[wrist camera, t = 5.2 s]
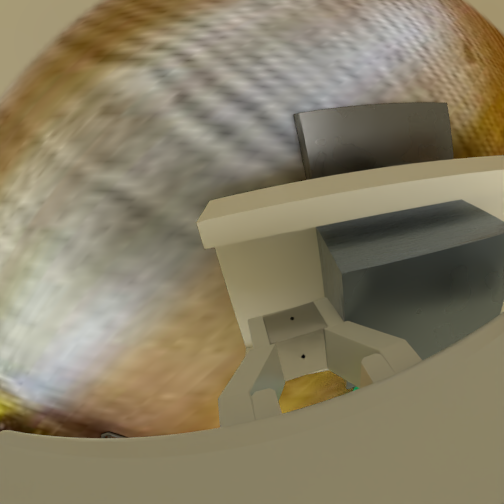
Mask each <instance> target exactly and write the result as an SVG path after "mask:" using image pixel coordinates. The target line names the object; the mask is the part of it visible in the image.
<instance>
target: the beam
mask: <svg viewBox="0 0 504 504" xmlns="http://www.w3.org/2000/svg"><path fill="white" fill-rule="evenodd" d="M460 199H462V200H464V201H466V202H468V203H470V204H472V205H474V206H476V207H478V208H480V209H482V210H484V211H485V212H487V213H489V214H491V215H493V216H495V217H497V218H498V219H500V220H502V221H504V155H501V156H486V157H472V158H461V159H450V160H440V161H431V162H422V163H414V164H406V165H398V166H390V167H383V168H376V169H369V170H363V171H356V172H350V173H344V174H338V175H332V176H326V177H321V178H315V179H310V180H304V181H299V182H294V183H289V184H283V185H278V186H274V187H269V188H264V189H259V190H254V191H250V192H245V193H241V194H236V195H232V196H227V197H223V198H219V199H214V200H210V201H209V203H208V204H207V206H206V207H205V209H204V211H203V212H202V214H201V215H200V217H199V219H198V220H197V222H196V224H197V227H198V230H199V234H200V237H201V240H202V243H203V247H204V249H209V248H213V247H215V250H216V254H217V257H218V260H219V264H220V267H221V270H222V274H223V277H224V280H225V283H226V287H227V290H228V293H229V296H230V299H231V303H232V306H233V309H234V312H235V315H236V318H237V321H238V325H239V328H240V331H241V334H242V337H243V340H244V343H245V346H246V355H247V353H248V352H249V350H252V349H253V344H252V340H251V335H250V331H249V326H248V319H251V318H254V317H258V316H262V315H266V314H270V313H274V312H278V311H282V310H285V309H289V308H294V307H297V306H300V305H303V304H307V303H310V302H312V301H315V300H318V299H321V298H324V297H325V296H324V287H323V279H322V271H321V263H320V256H319V248H318V241H317V234H316V228H315V227H317V226H322V225H327V224H332V223H337V222H343V221H348V220H353V219H358V218H363V217H369V216H374V215H379V214H384V213H390V212H395V211H400V210H406V209H411V208H416V207H422V206H427V205H433V204H438V203H444V202H449V201H455V200H460ZM502 312H504V302H503V306H502V309H501V313H502ZM262 318H263V317H262ZM326 370H328V368H327V369H324V370H320V371H317V372H322V371H326ZM317 372H313V373H317ZM310 374H312V373H310ZM306 375H307V374H306Z"/></svg>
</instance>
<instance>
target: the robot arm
mask: <svg viewBox="0 0 504 504" xmlns="http://www.w3.org/2000/svg"><path fill="white" fill-rule="evenodd" d="M262 317H263V318H262ZM248 326H249V331H250V335H251V340H252V344H253V349H252V350H249V352H248V353H247V355H246V356H245V358H244V359H243V361H242V363H241V364H240V366H239V367H238V369H237V370H236V372H235V374H234V375H233V377H232V378H231V380H230V381H229V383H228V384H227V386H226V387H225V389H224V391H223V392H222V394H221V395H220V397H219V398H218V405H219V419H220V428H215V429H209V430H203V431H196V432H189V433H181V434H172V435H162V436H150V437H134V438H71V437H56V436H45V435H36V434H28V433H21V432H15V431H9V430H4V431H1V432H0V504H504V312H502V313H501V314H500V315H498V316H497V317H495V318H494V319H492V320H491V321H489V322H488V323H486V324H485V325H483V326H482V327H480V328H479V329H477V330H475V331H474V332H472V333H471V334H469V335H467V336H466V337H464V338H462V339H461V340H459V341H457V342H456V343H454V344H452V345H450V346H449V347H447V348H445V349H443V350H441V351H440V352H438V353H436V354H434V355H432V356H430V357H428V358H426V359H424V360H422V359H421V358H420V357H419V356H418V354H417V353H416V352H415V351H414V350H413V348H412V347H411V346H410V345H409V344H408V342H407V341H406V340H405V339H401V338H398V337H395V336H392V335H389V334H386V333H383V332H380V331H377V330H374V329H371V328H368V327H365V326H362V325H359V324H356V323H353V322H350V321H345V322H344V321H343V320H342V318H341V317H340V315H339V314H338V312H337V311H336V310H335V308H334V307H333V305H332V304H331V302H330V301H329V300H328V298H326V297H324V298H321V299H318V300H315V301H312V302H310V303H307V304H303V305H300V306H297V307H294V308H289V309H285V310H282V311H278V312H274V313H270V314H266V315H262V316H258V317H254V318H251V319H248ZM327 368H328V370H330V371H332V372H333V373H335V374H337V375H338V376H340V377H342V378H343V379H345V380H347V381H348V382H350V383H352V384H353V385H355V386H357V387H358V388H359V389H357V390H354V391H352V392H349V393H346V394H344V395H341V396H338V397H335V398H332V399H329V400H326V401H323V402H320V403H317V404H314V405H311V406H308V407H304V408H301V409H298V410H294V411H291V412H287V413H284V414H282V413H281V409H280V406H279V402H278V401H279V398H280V395H281V393H282V390H283V387H284V385H285V381H288V380H291V379H294V378H297V377H300V376H303V375H306V374H310V373H313V372H317V371H320V370H324V369H327Z"/></svg>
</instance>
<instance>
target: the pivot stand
mask: <svg viewBox="0 0 504 504" xmlns="http://www.w3.org/2000/svg"><path fill="white" fill-rule="evenodd" d="M294 120H295V124H296V129H297V133H298V138H299V143H300V148H301V153H302V158H303V163H304V168H305V173H306V179H307V180H310V179H315V178H321V177H326V176H332V175H338V174H344V173H350V172H356V171H363V170H369V169H376V168H383V167H390V166H398V165H406V164H414V163H422V162H431V161H440V160H450V159H454V158H453V146H452V136H451V128H450V120H449V113H448V107H447V103H391V104H374V105H361V106H350V107H340V108H332V109H324V110H316V111H309V112H302V113H297V114H294Z"/></svg>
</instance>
